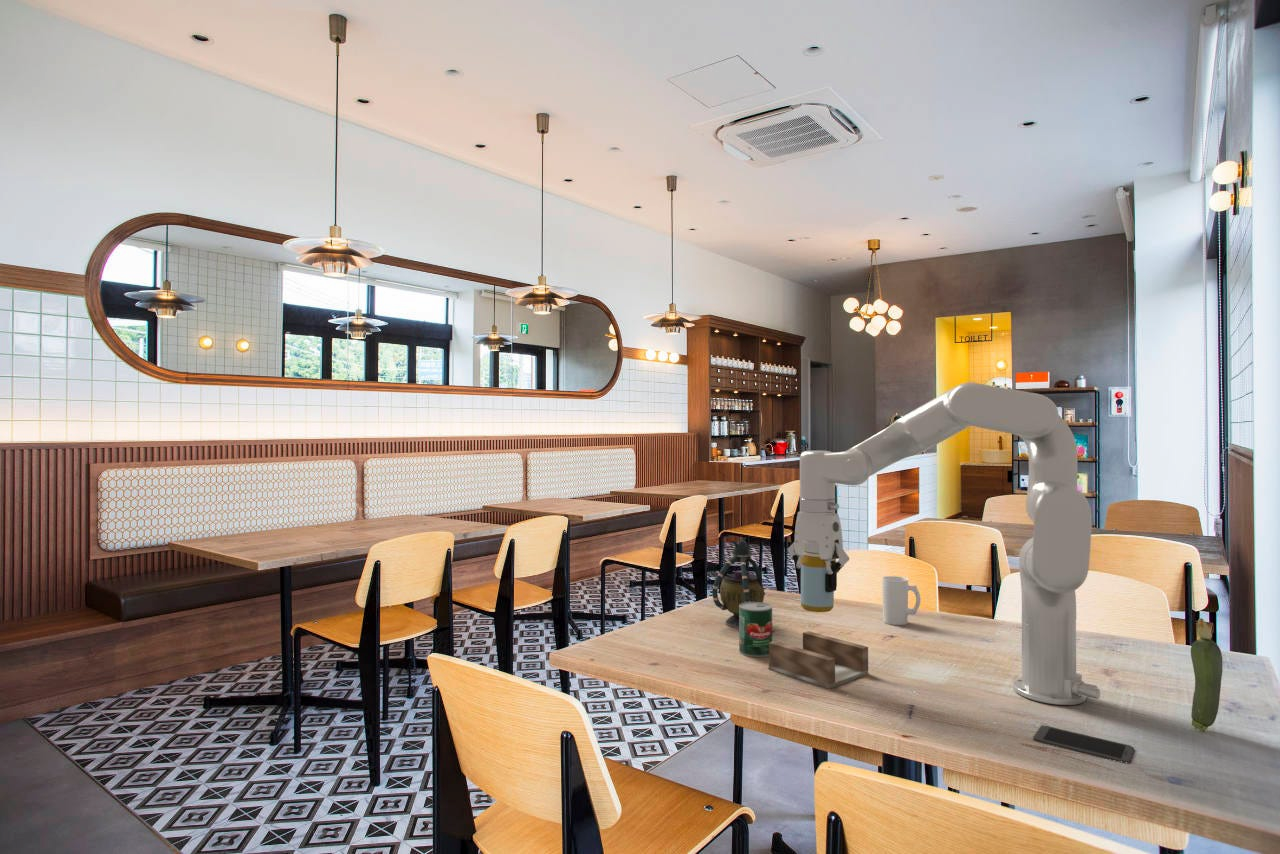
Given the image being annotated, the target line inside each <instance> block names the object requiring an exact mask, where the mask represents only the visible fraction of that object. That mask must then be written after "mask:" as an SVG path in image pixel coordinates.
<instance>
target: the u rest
mask: <svg viewBox="0 0 1280 854" xmlns="http://www.w3.org/2000/svg"><path fill="white" fill-rule="evenodd" d="M768 669H769V670H772V671H775V672H777V673H780V674H784V675H787V676H789V677H792V678H796V679H798V680H802V681H804V682H808V683H811V684H813V685H817V686H820V687H822V688H826V689H832V688H835V687H837V686H841V685H842V684H846V683H848V682H850V681H853V680H856V679H858V678H860V677H864V676H866V675H868V674H869V646H866V645H864V644H863V645H862V644H858V643H854V642H851V641H847V640H844V639H840V638H836V637H831V636H829V635H825V634H820V633H817V632H813V631H809V630H807V631H804V632H802V647H801V648H800V647H797V646H794V645H790V644H787V643H783V642H780V641H777V640H772V642H769V656H768Z"/></svg>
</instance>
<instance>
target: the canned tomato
mask: <svg viewBox="0 0 1280 854" xmlns="http://www.w3.org/2000/svg"><path fill="white" fill-rule="evenodd" d="M738 631H739V633H738V634H739V635H738V636H739V637H738V639H739V640H738V641H739V642H738V644H739V646H738V648H739V649H738V651H739V653H740V654H741V655H743V656H745V657H746V656H747V657H753V658H763V657H764V658H765V657H769V642H773V605H772V604H770V603H767V602H763V603H762V602H745V603H742V604H740V605H739V628H738Z"/></svg>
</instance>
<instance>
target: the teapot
mask: <svg viewBox="0 0 1280 854" xmlns="http://www.w3.org/2000/svg"><path fill="white" fill-rule="evenodd" d="M730 542H731V543H733V544H734V548H733V550H732V552H731V553H732V557H730V558H729V559H728V560H727V561H726V562H725V564H724V565H723V566H722V568H721V569H720V570H719V572H718V573H717V576H716V577H715V581H714V583H713V586H712V589H711V592H712V594H711V595H712V599H713V603H714V605H715V606H716V607H717V608H719V609H721V610H722V611H726V610H727V611H728V612H729V613H730V614H733V615H731V616H729V617H728V619H726V620H725V621H724V622H725V625H726V626H727V627H730V628H734V629H739V605H740V604H742V603H745V602H762V603H764V599H765V596H766V592H765V588H764V584H763V577H762V572H761V571H760V570H761V569H760V567H759V565H758V564H757V563H756V561H755V560H753V559H752V558H751V557H752V551H751V548H750V546H749V544H748V543H747V542H746V541H745V539H743V538H741V539H740V540H738V541H737V542H736V541H735V540H731V541H730ZM735 563H740V568H741V569H740V570H736V571H734V573H729V569H730V567H731V566H732V565H733V564H735ZM746 563H750V564H751V565H752V567H753V569H754V571H755V574H751V573H750V572H749V571H748V570H747V564H746ZM721 580H722V581H721ZM719 585H720V586H719ZM718 589H719V595H720V600H721V601H720V600H719V595H718Z"/></svg>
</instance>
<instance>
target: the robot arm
mask: <svg viewBox="0 0 1280 854" xmlns="http://www.w3.org/2000/svg"><path fill="white" fill-rule="evenodd" d="M969 427H976V428H981V429H986V430H990V431H995V432H1000V433H1004V434H1005V433H1006V434H1011V435H1016V436H1018V437H1019V438H1021V439H1022V441H1023V443H1024V444H1025V446H1026V449H1027V453H1028V476H1027V493H1026V499H1025V509H1026V513H1027V516H1028V517H1029V519H1030V520H1031V521H1032V522H1033V532H1032V537H1031V538H1029V539H1027V541H1026V542H1025V543H1024V544H1023V545H1022V547H1021V550H1020V553H1019V558H1018V559H1019V560H1018V565H1019V576H1020V577H1019V578H1020V579H1019V580H1020V590H1021V678H1017V679H1015V680H1014V681H1013V683H1012V684H1013V686H1012V687H1013V690H1014V691H1015V692H1016V693H1017V694H1019V695H1020V696H1022V697H1024V698H1027V699H1030V700H1032V701H1036V702H1040V703H1045V704H1050V705H1057V706H1058V705H1059V706H1073V705H1074V706H1075V705H1080V704H1083V703H1084V702H1085V701H1086V699H1087V697H1088V698H1091V699H1096V700H1099V699H1100V697H1101V689H1100V688H1098V685H1095V684H1091V683H1086V682H1084V680H1082V678H1083V676H1082V674H1081V673H1077V598H1076V590H1078V589H1079V588H1080V587H1082V585H1083V584H1084V583H1085V581H1086V580H1087V577H1088V574H1089V569H1090V560H1091V556H1090V555H1091V544H1092V543H1091V541H1092V525H1093V522H1092V521H1093V518H1092V510H1091V506H1090V503H1089V501H1088V499H1087V498H1086V496H1085V495H1084V494H1083V493H1082V492H1081V491H1080V490H1078V447H1077V442H1076V439H1075V436H1074V434H1073V431H1072V430H1071V428H1070V427H1069V425H1068V424H1067V422H1066V421H1065V420H1064V419H1063V417H1062V416H1061V415H1060V414H1059V410H1058V406H1057V405H1056V403H1055V402H1054V401H1053V400H1052V399H1050V398H1049V397H1047V396H1045V395H1043V394H1040V393H1035V392H1030V391H1022V390H1016V389H1011V388H1004V387H1000V386H994V385H989V384H983V383H978V382H971V381H970V382H964V383H961V384H958V385H956V386H954V387H953V388H951V389H949V390H947V391H946V392H943V393H942V394H940V395H938V396H937V397H935V398H933V399H931V400H929V401H928V402H926V403H924V404H922V405H921V406H918V407H917V408H915V409H913V410H911V411H910V412H909V413H907V414H904V415H902V416H901V417H900V418H898V419H896V420H894V422H892V423H891V424H890V425H889V426H887V427H885V428H884V429H882V430H881V431H879V432H877V433H876V434H874V435H872V436H871V437H868V438H867V439H865V440H864V441H862V442H860V443H858V444H857V445H854V446H853V447H851V448H849V449H847V450H845V451H844V450H843V451H838V452H837V451H836V452H832V451H829V450H804V451H802V452H801V453H800V456H799V511H797V515H796V520H795V529H794V541H793V542H792V544H791V545H790V546H789V547H788V548H787V552H788V554H789V555H790V557H792V560H793V562H794V563H795V564H796V565H795V567H796V568H797V569H798V586H799V587H800V588H801V560H802V557H803V555H804V554H803V551H804V550H803V547H804V541H808V542H816V543H818V545H819V553H818V554H820V559H822V560H824V561H825V564H826V569H827V572H828V573H827V574H825V591H826V592H828V593H829V592H833V591H834V592H835V591H837V586H838V583H837V581H838V573H840V571H841V569H842V568H843V567H844V565H846V564H847V563H848V562H849V561H850V557H849V555H848V554H847V553H846V551H845V549H844V544H843V532H842V525H841V520H840V516H839V514H838V513H836V510H837V511H838V510H839V508H840V504H839V503H836V484H839V485H846V486H853V487H854V486H859V485H862V484H864V483H866V481H867V480H868V479H869V477H871V476H873V475H875V474H876V473H879V472H880V471H882V470H884V469H886V468H887V467H889V466H891V465H893V464H895V463H897V462H899V461H901V460H905V459H906V458H910V457H914V456H916V455H919V454H921V453H924V452H925V451H926V452H927V451H928V450H929V449H931V448H932V447H936V445H938V444H940V443H942V442H944V441H946V440H947V439H949V438H952V437H953V436H955V435H956V434H958V433H961V432H963V431H964V430H966V429H967V428H968V429H969ZM831 561H832V563H833V566H831V563H830V562H831Z"/></svg>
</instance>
